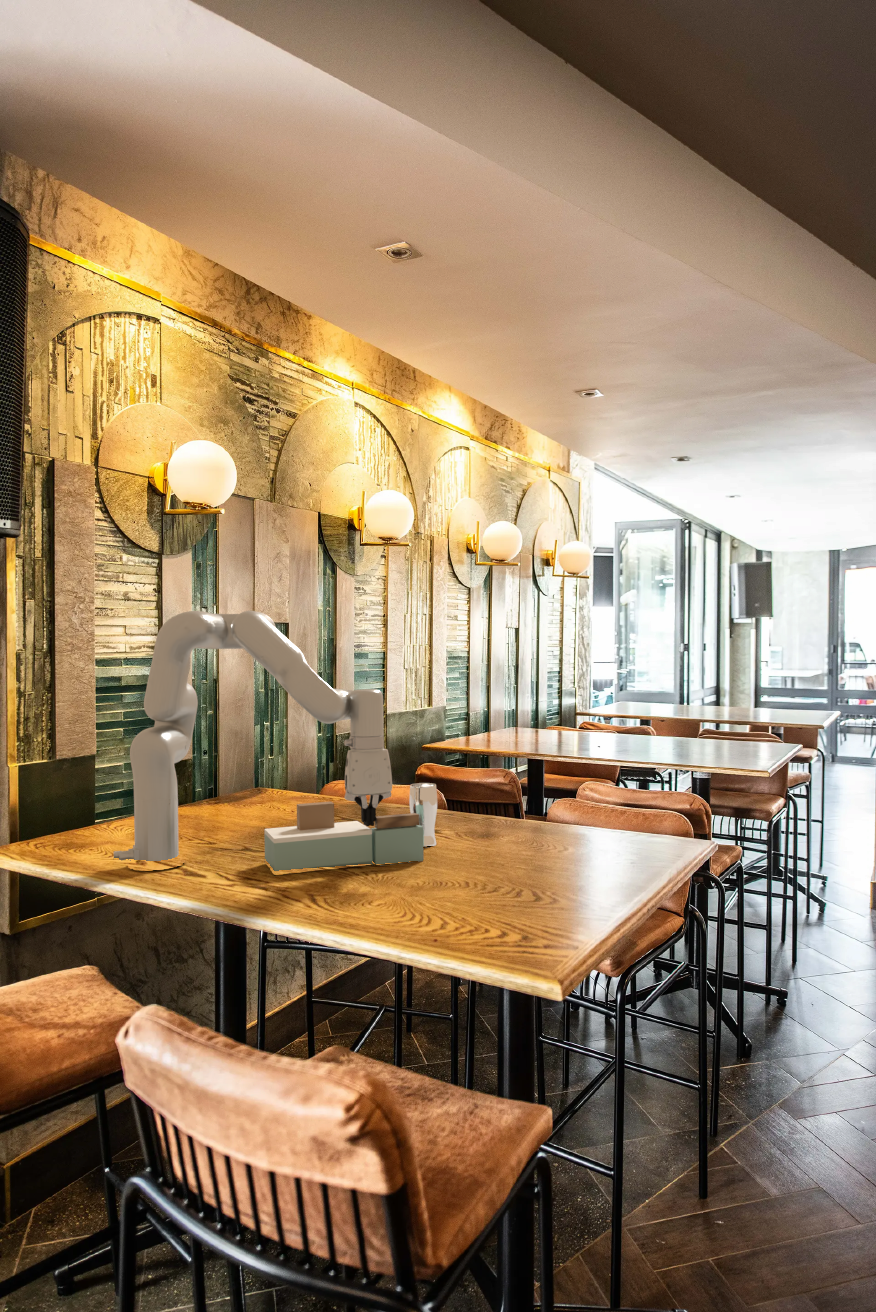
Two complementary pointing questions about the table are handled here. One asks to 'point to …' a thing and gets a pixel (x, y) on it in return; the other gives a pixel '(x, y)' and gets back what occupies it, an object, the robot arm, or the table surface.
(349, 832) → the lid
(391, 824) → the brown rectangular block
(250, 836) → the table surface
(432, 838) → the beer glass
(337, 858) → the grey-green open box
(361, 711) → the robot arm
